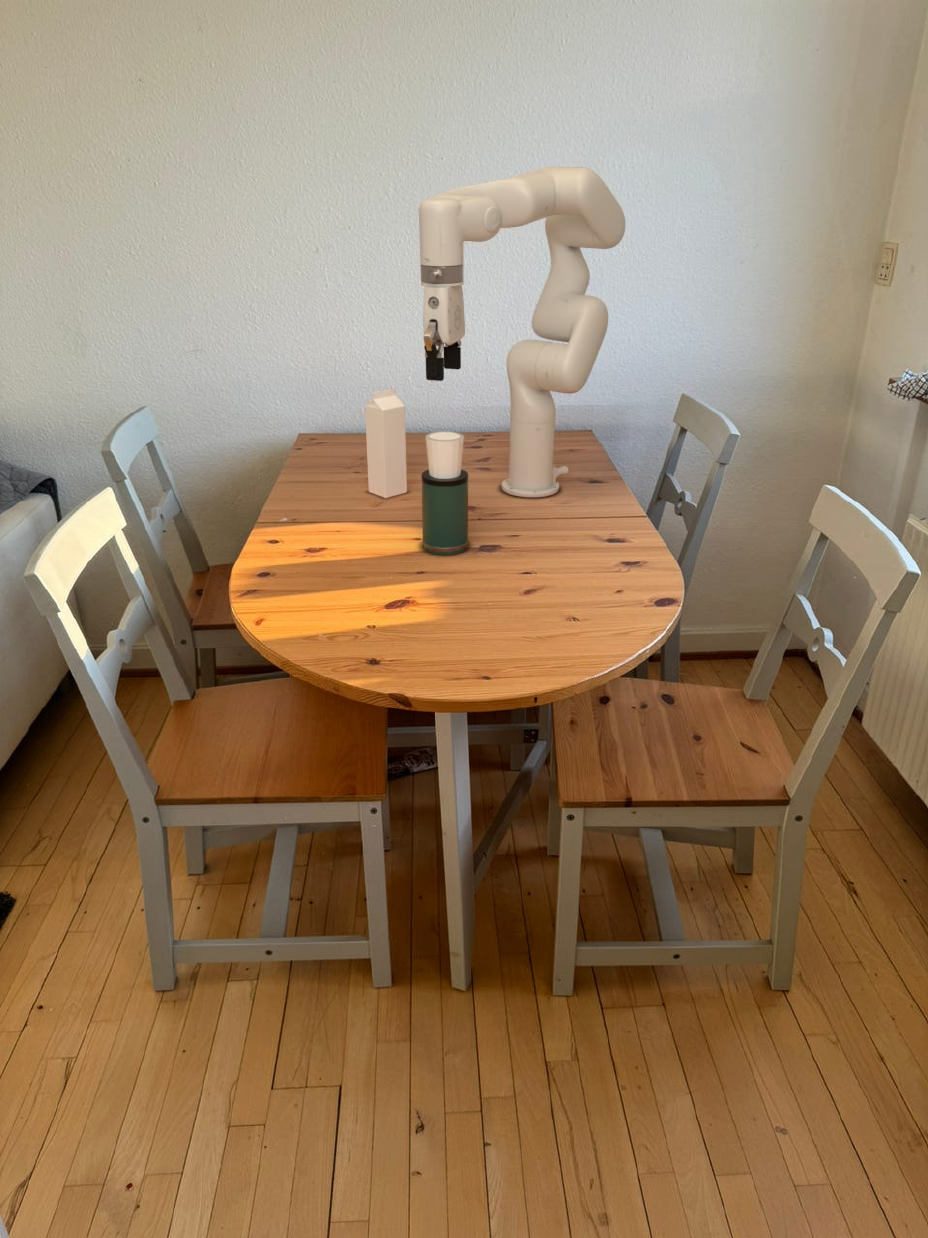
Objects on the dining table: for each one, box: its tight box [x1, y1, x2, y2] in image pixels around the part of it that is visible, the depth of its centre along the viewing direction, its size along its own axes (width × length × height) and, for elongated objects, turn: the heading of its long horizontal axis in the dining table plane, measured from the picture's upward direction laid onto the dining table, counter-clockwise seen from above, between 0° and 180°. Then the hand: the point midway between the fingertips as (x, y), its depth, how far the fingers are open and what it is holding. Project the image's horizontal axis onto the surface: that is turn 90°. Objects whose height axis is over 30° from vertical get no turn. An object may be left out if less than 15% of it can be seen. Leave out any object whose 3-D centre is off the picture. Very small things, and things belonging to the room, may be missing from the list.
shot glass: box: [424, 430, 465, 479], centre depth 168 cm, size 7×7×7 cm
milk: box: [364, 387, 408, 499], centre depth 199 cm, size 6×6×22 cm
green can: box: [421, 468, 469, 556], centre depth 173 cm, size 8×8×14 cm
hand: (443, 374), depth 173 cm, fingers open, 9 cm apart
